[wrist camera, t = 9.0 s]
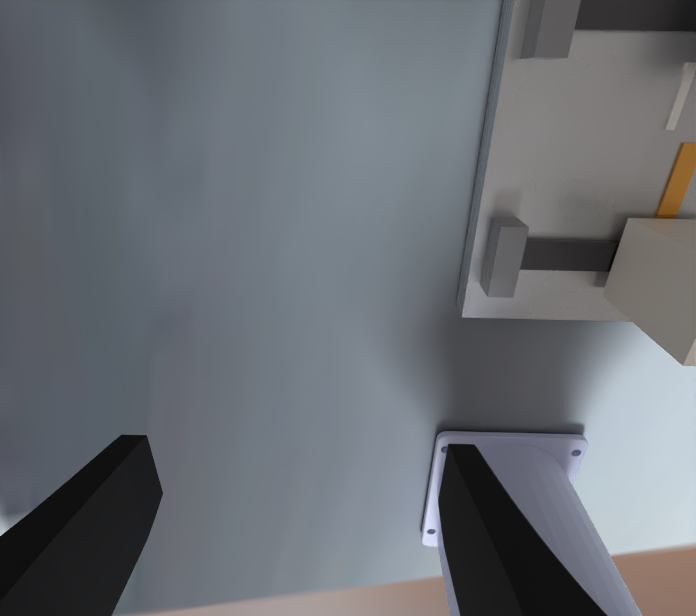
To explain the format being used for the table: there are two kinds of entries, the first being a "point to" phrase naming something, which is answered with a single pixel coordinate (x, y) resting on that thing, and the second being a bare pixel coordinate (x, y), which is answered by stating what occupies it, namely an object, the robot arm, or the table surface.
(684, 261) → the block
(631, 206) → the console
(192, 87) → the table surface
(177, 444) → the table surface
